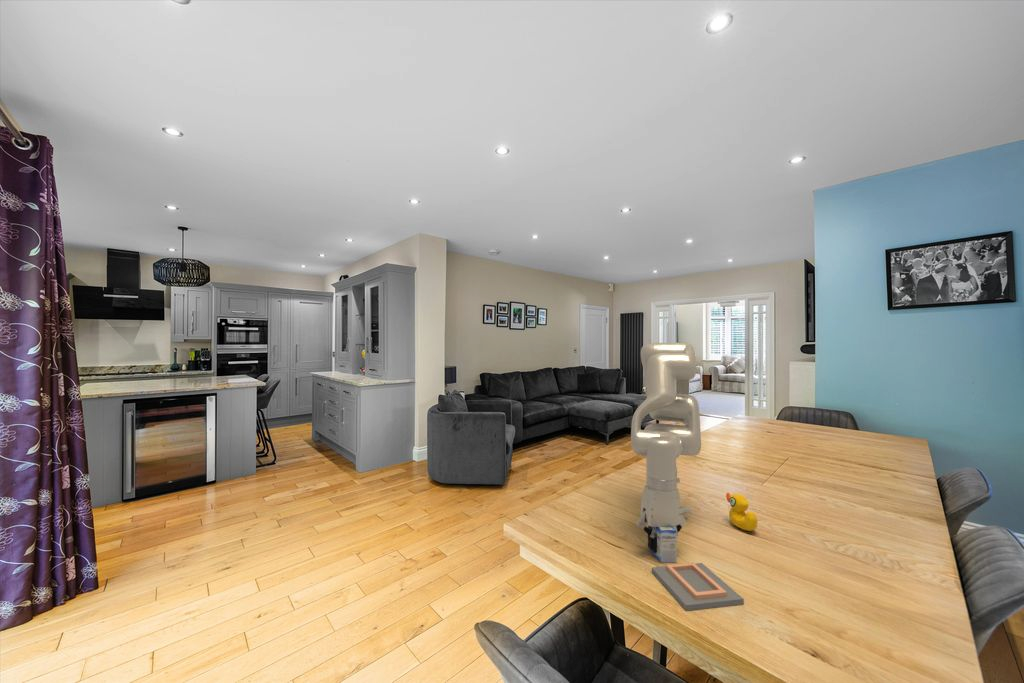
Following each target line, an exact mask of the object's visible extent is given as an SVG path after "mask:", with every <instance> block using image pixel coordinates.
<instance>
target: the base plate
mask: <svg viewBox="0 0 1024 683" xmlns="http://www.w3.org/2000/svg"><path fill="white" fill-rule="evenodd" d="M651 574H653V575H654V577H655V578H656V579H657V580H658V581H659V582H660V583H661V585H662V586H664V587H665V589H666V590H667V591H668V592H669V593H670V595H671V596H672V597H673V598H674V599H675V600H676V601H677V603H678V604H679V605H680V606H681V607H682V608H683V609H684V610H685V611H686V612H690V611H696V610H697V611H699V610H705V609H707V610H708V609H715V608H716V609H717V608H724V607H731V606H732V607H733V606H742V605H744V604H745V603H744V602H745V600H744V597H742V596H741V595H740V594H739V593H738V592H736V591H735V590H734V589H733V588H732V587H731V586H729V585H728V584H727V583H726V582H725V581H724V580H722V579H721V578H720V577H719V576H717V574H715V573H714V572H713V571H712V570H711V569H710V568H708V567H707V566H706V565H705V564H704V563H703V562H696V563H694V562H685V563H677V564H676V563H674V564H673V563H672V564H666V565H663V566H655V567H651Z"/></svg>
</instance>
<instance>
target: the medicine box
mask: <svg viewBox="0 0 1024 683" xmlns="http://www.w3.org/2000/svg"><path fill="white" fill-rule="evenodd" d="M655 537H656V538H657V553H654V552H653V551H652V550H651V549H650V548H649V547H648V546H647V548H648V549H649V550H650V552H652V554H653V555H654V556H655V557H656V558H657V559H658V561H659V562H660V563H661V564H668V563H669V564H673V563H674V564H675V563H677V561H678V560H677V558H678V557H677V556H678V554H677V552H678V551H677V550H678V549H677V547H678V546H677V544H678V543H677V541H678V540H677V537H678V536H677V533H676V530H675V529H674V528H673V527H672V526H663V527H657V530H656V534H655Z"/></svg>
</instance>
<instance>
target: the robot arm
mask: <svg viewBox="0 0 1024 683" xmlns="http://www.w3.org/2000/svg"><path fill="white" fill-rule="evenodd" d="M694 349H695V348H694V347H693V345H692V344H691V343H688V342H651V343H647V344H644V345H642V346H641V348H640V359H641V364H642V368H643V370H644V373H645V375H646V380H647V384H646V385H647V386H646V398H645V400H644V401H643V402H641V404H640V405H638V407H637V408H636V410H635V412H634V413H633V416H632V419H631V430H630V447H631V450H632V452H633V453H635V454H636V455H638V456H645V461H646V466H645V467H646V471H645V473H646V478H645V480H646V484H645V485H644V486H643V490H642V495H641V502H640V516H639V518H638V519H637V521H636V522H635V525H636V526H637V527H638V528H640V529H641V530H642V531H644V532H645V533H646V534H647V548H648V547H649V548H650V549H651V550H652V551H653V552H654V553H657V538H656V537H655V534H656V530H657V527H663V526H672V527H673V528H674V529H675V530H676V533H677V537H678V536H679V532H680V531H681V530H682V528H683V527H684V526H686V524H688V523H687V522H688V521H687V519H686V518H685V517H684V515H683V514H692V509H691V508H690V506H687V507H683V505H682V502H681V496H680V492H679V489H678V483H679V484H680V483H681V479H680V477H678V468H677V459H678V458H679V457H680V456H690V457H693V456H697V455H699V454H700V453H701V450H702V449H701V448H702V435H701V434H702V433H701V421H700V420H701V419H700V418H701V417H700V406H699V402H698V400H697V398H696V397H695V396H694V395H691V394H685V393H676V392H677V389H676V388H677V387H676V386H677V385H676V380H694V378H695V376H696V373H697V359H696V353H695V350H694ZM648 415H649V416H650V418H651V419H653V420H656V421H662V422H663V421H664V422H672V423H673V422H674V423H675V422H676V423H681V424H671V423H656V422H655V423H649V424H648V425H646V426H645V427H644V429H641V426H642V422H643V419H644V418H645V417H646V416H648ZM682 423H683V425H682ZM646 522H647V524H646V525H645V523H646ZM649 548H648V549H649ZM650 549H649V550H650ZM651 550H650V551H651ZM652 551H651V552H652Z"/></svg>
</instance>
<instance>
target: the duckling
mask: <svg viewBox="0 0 1024 683" xmlns="http://www.w3.org/2000/svg"><path fill="white" fill-rule="evenodd" d="M725 495H726V500H727V502H728V503H729V505H730V507H731V508H730V509H729V511H728V515H729V519H730V520H731V523H732V524H733V525H734V526H736V527H737V528H739V529H741V530H742V531H748V532H751V531H752V532H753V531H755V530H756V529H757V527H758V518H757V516H756V513H754V512H752V511H748V512H747V513H746V511H747V510H748V508H749V502H748V500H747V498H746V497H745V496H744V495H742V494H739V493H735V494H731V493H730V492H726V494H725Z"/></svg>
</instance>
